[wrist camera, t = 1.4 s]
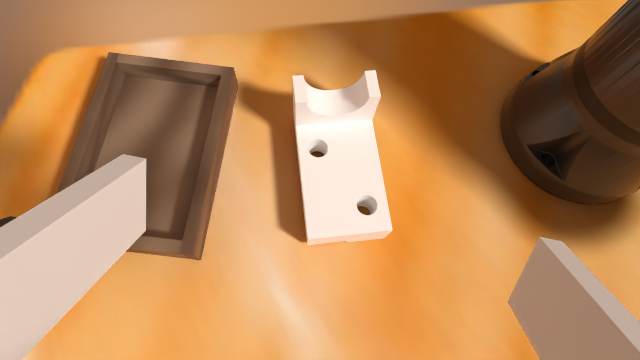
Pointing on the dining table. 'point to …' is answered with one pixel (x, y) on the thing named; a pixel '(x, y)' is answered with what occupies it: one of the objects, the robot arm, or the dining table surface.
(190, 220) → the walnut tray
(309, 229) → the bracket
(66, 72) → the dining table surface
